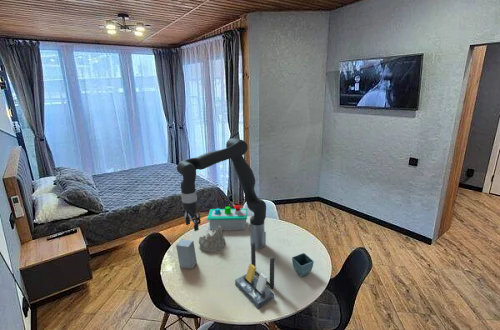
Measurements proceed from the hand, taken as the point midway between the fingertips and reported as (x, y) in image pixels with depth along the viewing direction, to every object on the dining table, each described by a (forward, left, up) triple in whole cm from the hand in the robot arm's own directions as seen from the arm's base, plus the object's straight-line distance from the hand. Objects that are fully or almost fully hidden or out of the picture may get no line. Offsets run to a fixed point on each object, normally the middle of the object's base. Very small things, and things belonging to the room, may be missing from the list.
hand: (192, 227), depth 141 cm
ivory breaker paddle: (-18, +34, -26) cm, 47 cm away
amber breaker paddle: (-18, +25, -26) cm, 40 cm away
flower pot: (-48, +35, -30) cm, 67 cm away
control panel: (-42, -34, -30) cm, 62 cm away
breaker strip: (-18, +30, -30) cm, 46 cm away
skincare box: (+1, -10, -30) cm, 32 cm away
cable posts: (-27, +25, -30) cm, 48 cm away
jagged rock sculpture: (-21, -20, -30) cm, 42 cm away
